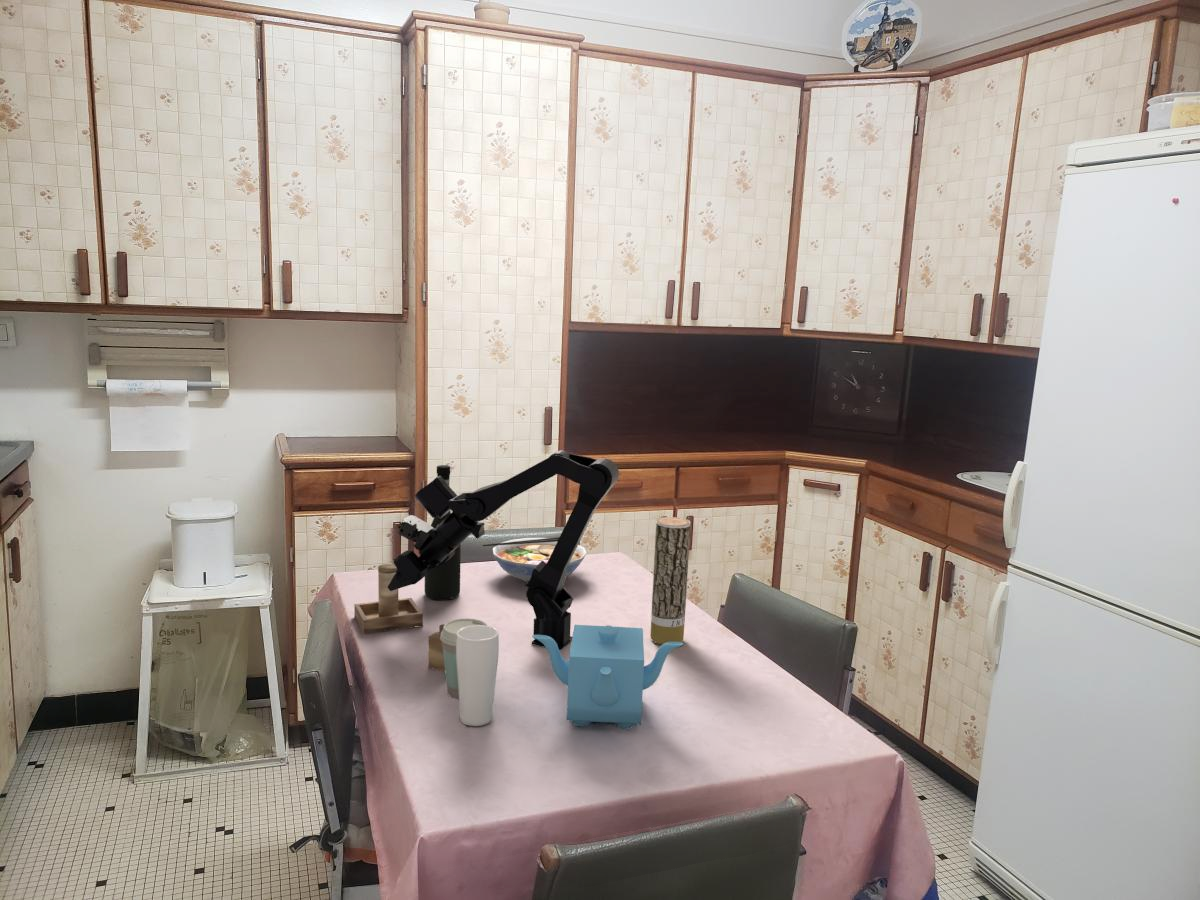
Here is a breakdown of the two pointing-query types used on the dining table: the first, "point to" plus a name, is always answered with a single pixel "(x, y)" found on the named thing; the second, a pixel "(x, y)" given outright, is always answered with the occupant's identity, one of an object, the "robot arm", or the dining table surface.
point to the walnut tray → (373, 623)
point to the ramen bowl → (530, 555)
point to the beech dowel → (387, 591)
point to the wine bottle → (446, 576)
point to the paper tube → (670, 579)
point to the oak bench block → (436, 651)
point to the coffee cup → (453, 651)
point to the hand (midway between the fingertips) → (399, 582)
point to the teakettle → (606, 673)
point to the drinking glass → (476, 672)
